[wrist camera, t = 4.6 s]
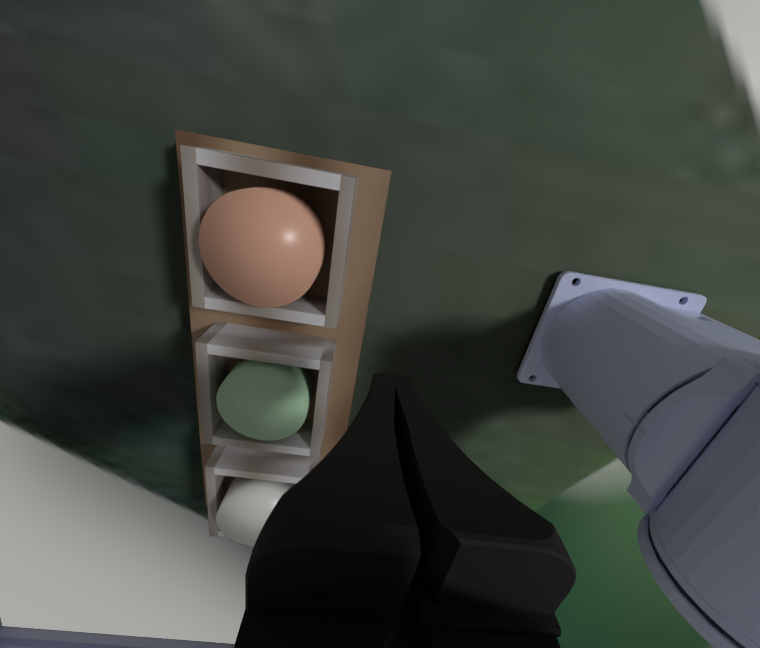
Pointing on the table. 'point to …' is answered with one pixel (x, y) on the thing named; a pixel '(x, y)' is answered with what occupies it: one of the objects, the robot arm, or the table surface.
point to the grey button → (248, 508)
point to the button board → (285, 323)
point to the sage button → (265, 399)
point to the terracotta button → (262, 245)
